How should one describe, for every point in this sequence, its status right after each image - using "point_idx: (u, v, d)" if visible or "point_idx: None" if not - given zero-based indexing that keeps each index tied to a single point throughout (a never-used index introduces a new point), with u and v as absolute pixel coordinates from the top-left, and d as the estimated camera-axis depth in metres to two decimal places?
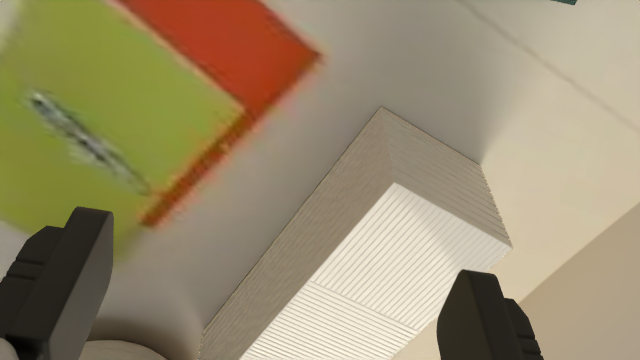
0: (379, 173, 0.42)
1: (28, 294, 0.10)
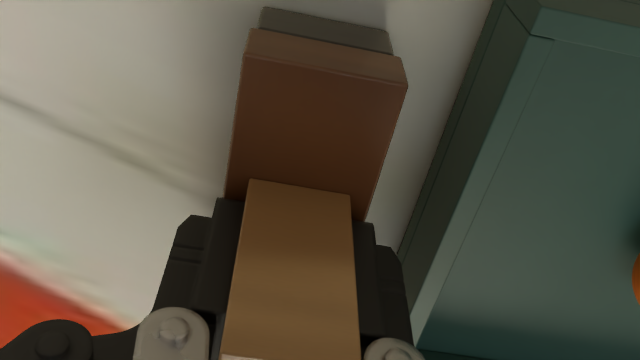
0: None
1: (199, 274, 0.12)
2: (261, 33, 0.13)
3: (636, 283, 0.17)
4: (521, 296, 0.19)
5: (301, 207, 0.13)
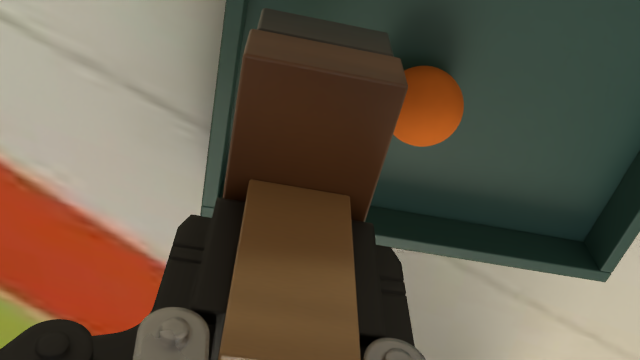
0: None
1: (199, 274, 0.12)
2: (261, 34, 0.13)
3: None
4: None
5: (301, 208, 0.13)
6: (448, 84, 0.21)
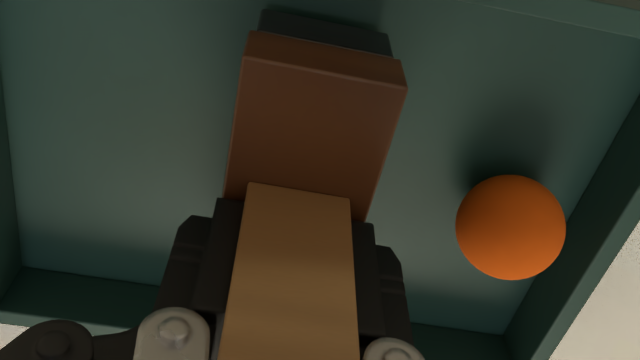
0: None
1: (199, 274, 0.12)
2: (260, 35, 0.13)
3: None
4: (132, 210, 0.19)
5: (300, 211, 0.13)
6: (515, 199, 0.16)
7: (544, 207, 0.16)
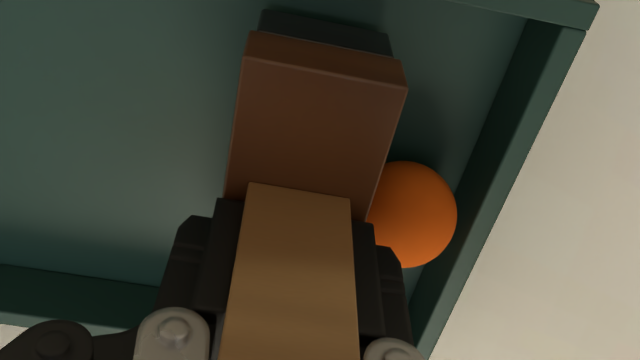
0: None
1: (199, 274, 0.12)
2: (260, 36, 0.13)
3: None
4: (4, 190, 0.18)
5: (301, 211, 0.13)
6: (406, 190, 0.15)
7: (435, 194, 0.16)
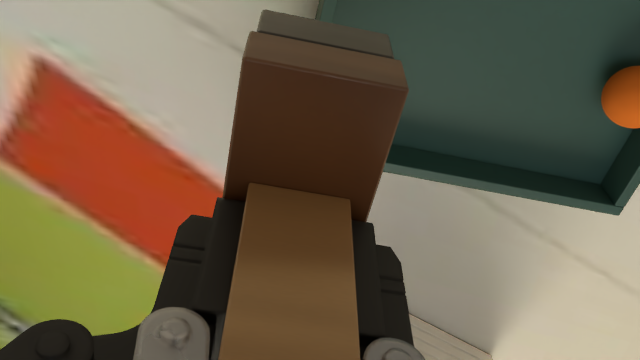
0: None
1: (199, 274, 0.12)
2: (261, 37, 0.13)
3: None
4: None
5: (301, 212, 0.13)
6: None
7: None
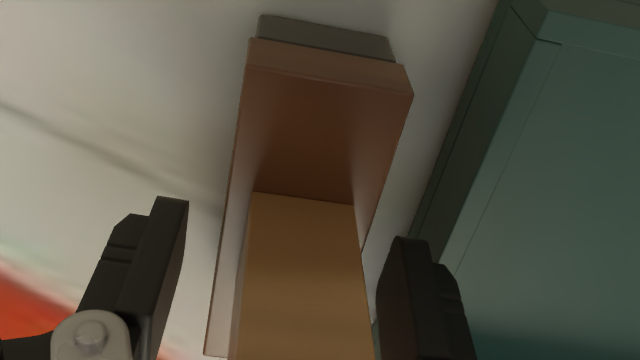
0: None
1: (127, 275, 0.11)
2: (261, 43, 0.13)
3: None
4: (525, 303, 0.19)
5: (306, 220, 0.13)
6: None
7: None
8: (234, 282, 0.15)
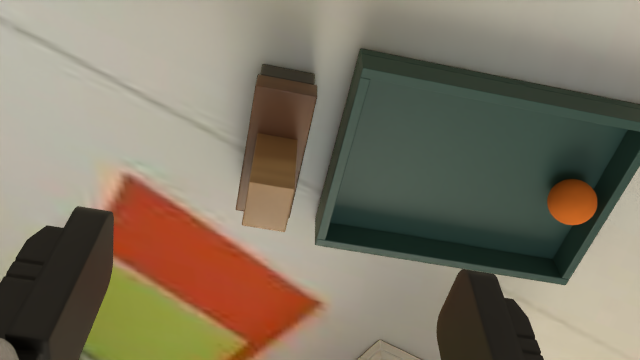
0: None
1: (28, 294, 0.10)
2: (262, 76, 0.34)
3: None
4: (386, 194, 0.40)
5: (277, 143, 0.34)
6: (578, 188, 0.37)
7: (590, 190, 0.38)
8: (250, 173, 0.36)
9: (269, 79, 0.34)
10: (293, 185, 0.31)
